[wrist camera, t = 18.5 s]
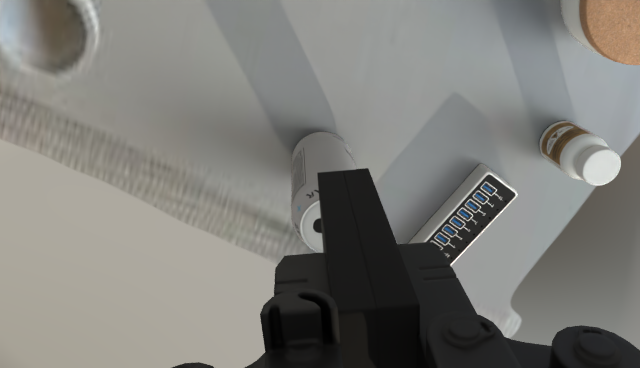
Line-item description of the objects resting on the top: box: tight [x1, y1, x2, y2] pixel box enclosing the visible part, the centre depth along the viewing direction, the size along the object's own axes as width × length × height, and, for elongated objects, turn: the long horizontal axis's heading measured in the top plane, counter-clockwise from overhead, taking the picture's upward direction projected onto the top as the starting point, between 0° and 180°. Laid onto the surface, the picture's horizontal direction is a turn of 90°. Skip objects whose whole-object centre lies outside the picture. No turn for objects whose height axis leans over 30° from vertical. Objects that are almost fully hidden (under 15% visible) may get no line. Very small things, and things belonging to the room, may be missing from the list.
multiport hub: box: [408, 164, 517, 265], centre depth 54 cm, size 4×14×2 cm, turn 143°
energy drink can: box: [292, 132, 356, 253], centre depth 44 cm, size 6×6×15 cm
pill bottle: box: [539, 121, 621, 186], centre depth 48 cm, size 4×4×8 cm
